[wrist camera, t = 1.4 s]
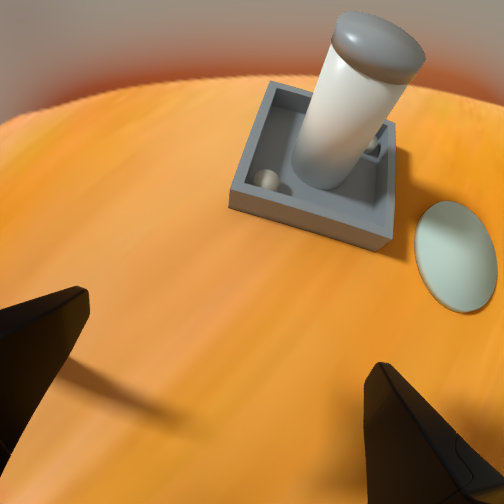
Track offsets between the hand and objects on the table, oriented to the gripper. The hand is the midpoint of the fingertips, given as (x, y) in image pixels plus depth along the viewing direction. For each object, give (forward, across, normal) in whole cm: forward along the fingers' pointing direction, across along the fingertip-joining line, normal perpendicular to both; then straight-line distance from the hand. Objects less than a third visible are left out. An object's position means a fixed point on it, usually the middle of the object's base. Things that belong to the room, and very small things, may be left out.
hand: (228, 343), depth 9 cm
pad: (+19, -19, 0) cm, 27 cm away
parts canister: (+21, -4, -3) cm, 22 cm away
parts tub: (+21, -4, -3) cm, 22 cm away
